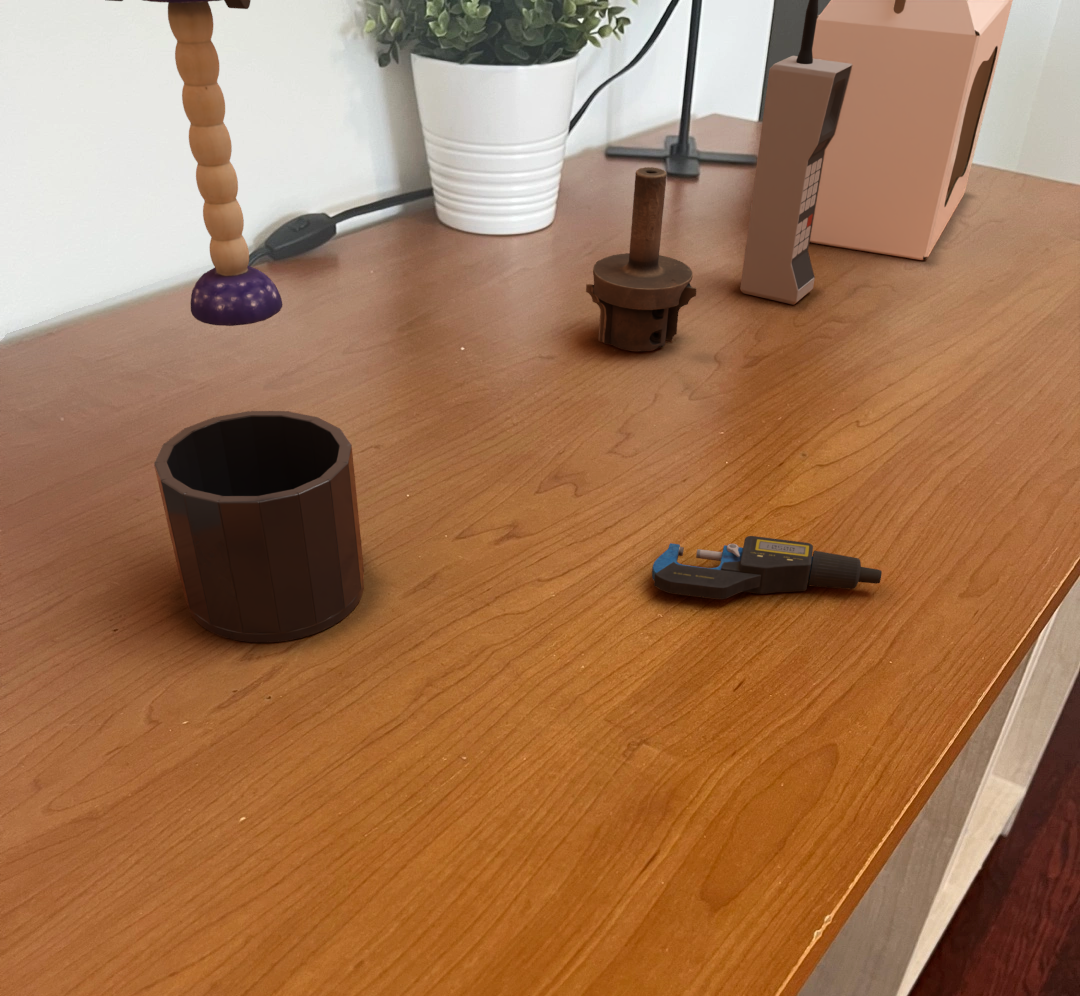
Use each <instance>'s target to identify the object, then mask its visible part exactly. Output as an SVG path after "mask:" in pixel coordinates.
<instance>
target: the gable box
mask: <svg viewBox="0 0 1080 996" xmlns="http://www.w3.org/2000/svg"><path fill="white" fill-rule="evenodd" d="M1013 1H1014V0H830V1H829V2H828V3H827V5H826V6H825V7H824V8H823V10H822V12H820V14H818V15H817V22H816V28H815V35H814V41H813V47H812V55H813V59H820V60H828V61H835V62H842V63H849V64H852V70H851V73H850V77H849V81H848V85H847V89H846V93H845V97H844V101H843V105H842V109H841V112H840V116H839V120H838V124H837V128H836V132H835V135H834V137H833V138H832V140H831V141H830V143H829V145H828V146H827V148H826V149H825V155H824V161H823V167H822V173H821V179H820V184H819V190H818V196H817V202H816V208H815V214H814V220H813V226H812V232H811V237H810V243H811V244H812V243H813V244H819V245H825V246H831V247H837V248H843V249H849V250H857V251H863V252H867V253H868V252H869V253H874V254H882V255H886V256H893V257H899V258H905V259H906V258H907V259H913V260H918V261H925V260H926V259H928V258H929V256H930V254H932V253H931V252H932V251H933V249H934V247H935V246H936V244H937V242H938V240H939V239H940V237H941V236H942V234H943V232H944V230H945V228H946V226H947V225H948V223H949V221H950V219H951V218H952V216H953V214H954V213H955V211H956V209H957V208H958V206H959V204H960V202H961V201H962V199H963V197H964V195H965V194H966V188H967V185H968V182H969V178H970V177H969V176H970V173H971V170H972V169H971V168H972V166H973V161H974V156H975V153H976V148H977V145H978V141H979V137H980V133H981V128H982V125H983V121H984V117H985V113H986V109H987V104H988V101H989V97H990V93H991V88H992V85H993V81H994V76H995V72H996V69H997V65H998V61H999V57H1000V54H1001V53H1000V52H1001V49H1002V45H1003V41H1004V38H1005V37H1004V36H1005V34H1006V29H1007V24H1008V22H1009V17H1010V13H1011V9H1012V4H1013Z"/></svg>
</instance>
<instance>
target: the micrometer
mask: <svg viewBox="0 0 1080 996" xmlns="http://www.w3.org/2000/svg"><path fill="white" fill-rule="evenodd" d="M684 548H685V547H684V546H681V545H680V544H679V543H671V542H670V543H669V545H668V548H667V549H666V550H665V551H664V552H662V553H661V554H660V555H659V556H658V557H657V558H656V559H655V560H654V562H653V564H652V569H651V578H652V580H653V586H654V587H655V588H657V589H659V590H660V591H662V592H666V593H668V594H673V595H681V596H688V597H697V598H705V599H712V600H725V599H728V598H730V597H733V596H735V595H737V594H740V593H743V592H745V593H751V594H758V595H759V594H760V595H764V594H774V593H787V592H789V593H790V592H805V591H806V590H807V588H808V586H810V587H817V588H818V587H819V588H832V589H842V590H843V589H844V590H855V589H856V588H857V586H858V584H859V583H865V584H874V585H876V584H881V580H882V573H883V571H882V570H881V569H878V568H876V569H875V568H871V567H866V566H862V562H861V559H860V558H858V557H853V556H847V555H843V554H837V553H833V552H831V553H830V552H825V551H820V550H814V545H813V544H812V543H810V542H803V541H797V540H790V539H789V540H787V539H781V538H771V537H764V536H755V535H748V536H746V537H745V538H744V541H743V547H740V546H739V545H738V544H736V543H728V544H727V545H726V544H725V545H723V548H722V551H715V550H708V549H701V548H697V550H696V555H695V558H696V559H702V560H709V561H716V562H720V564H719V565H718V566H716V567H703V566H695V565H688V564H683V563H680V562H678V559H679V557H683V555H684V551H685V550H684Z"/></svg>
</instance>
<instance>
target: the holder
mask: <svg viewBox="0 0 1080 996" xmlns="http://www.w3.org/2000/svg"><path fill="white" fill-rule="evenodd" d="M153 466H154V470H155V474H156V480H157V484H158V487H159V488H158V489H159V493H160V497H161V502H162V505H163V510H164V514H165V519H166V523H167V527H168V532H169V537H170V540H171V546H172V550H173V553H174V558H175V564H176V567H177V572H178V575H179V580H180V584H181V589H182V592H183V595H184V598H185V601H186V606H187V609H188V612H189V613H190V615H191V617H192V618H193V620H195V622H196V623H197V624H198V625H200V626H201V627H202V628H203V629H205V630H207V631H209V632H210V633H212V634H215V635H217V636H219V637H223V638H226V639H229V640H233V641H238V642H243V643H244V642H245V643H257V644H258V643H261V644H267V643H269V644H270V643H280V642H281V643H282V642H289V641H294V640H299V639H302V638H306V637H310V636H312V635H315V634H318V633H321V632H323V631H325V630H327V629H329V628H331V627H333V626H335V625H337V624H338V623H340V622H341V621H343V620H344V619H345V618H346V617H348V616H349V615H350V614H351V613H352V612H353V611H354V610H355V608H356V607H357V606H358V604H359V603H360V601H361V599H362V597H363V594H364V590H365V581H364V579H365V578H364V573H365V569H364V567H365V565H364V556H363V546H362V538H361V537H362V535H361V527H360V526H361V525H360V515H359V506H358V505H359V504H358V495H357V486H356V475H355V465H354V455H353V446H352V443H351V442H350V440H349V439H348V437H347V436H346V435H345V433H344V432H343V430H342V429H341V428H340V427H338V426H336V425H334V424H332V423H330V422H328V421H326V420H324V419H322V418H321V417H317V416H313V415H309V414H303V413H300V412H299V413H298V412H293V411H289V410H248V411H242V412H236V413H230V414H224V415H217V416H214V417H211V418H207V419H206V420H203V421H200V422H198V423H195V424H192V425H189V426H187V427H184V428H183V429H181V430H180V431H179V432H177V433H176V434H175V435H173V436H172V437H170V438H169V439H168V440H166V441H165V442H164V443H163V444H162V445H161V447H160V449H159V451H158V453H157V456H156V458H155V460H154V463H153Z"/></svg>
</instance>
